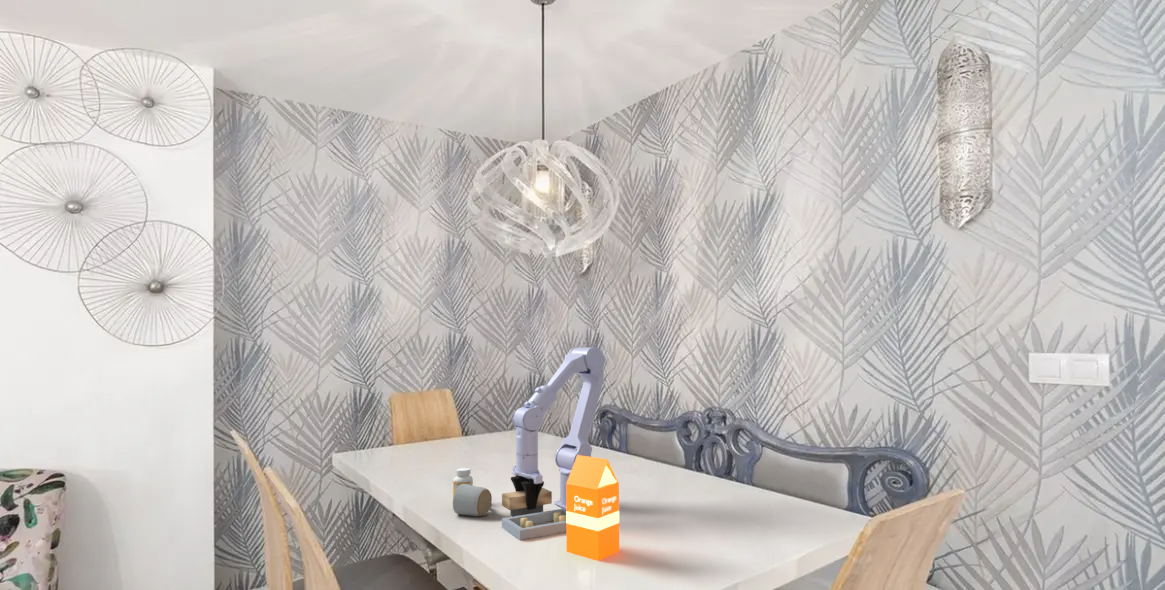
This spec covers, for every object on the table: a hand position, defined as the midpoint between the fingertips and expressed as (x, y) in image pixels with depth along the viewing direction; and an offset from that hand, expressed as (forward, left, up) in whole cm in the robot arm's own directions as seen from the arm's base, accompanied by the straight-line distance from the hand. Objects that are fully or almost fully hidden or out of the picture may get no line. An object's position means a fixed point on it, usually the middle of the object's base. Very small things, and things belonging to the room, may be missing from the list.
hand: (527, 506), depth 155 cm
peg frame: (+1, +12, -2) cm, 12 cm away
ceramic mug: (+11, -9, -2) cm, 14 cm away
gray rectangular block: (0, 0, -2) cm, 2 cm away
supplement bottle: (+11, -19, -2) cm, 22 cm away
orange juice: (-1, +32, -2) cm, 32 cm away
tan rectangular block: (0, 0, 0) cm, 0 cm away
